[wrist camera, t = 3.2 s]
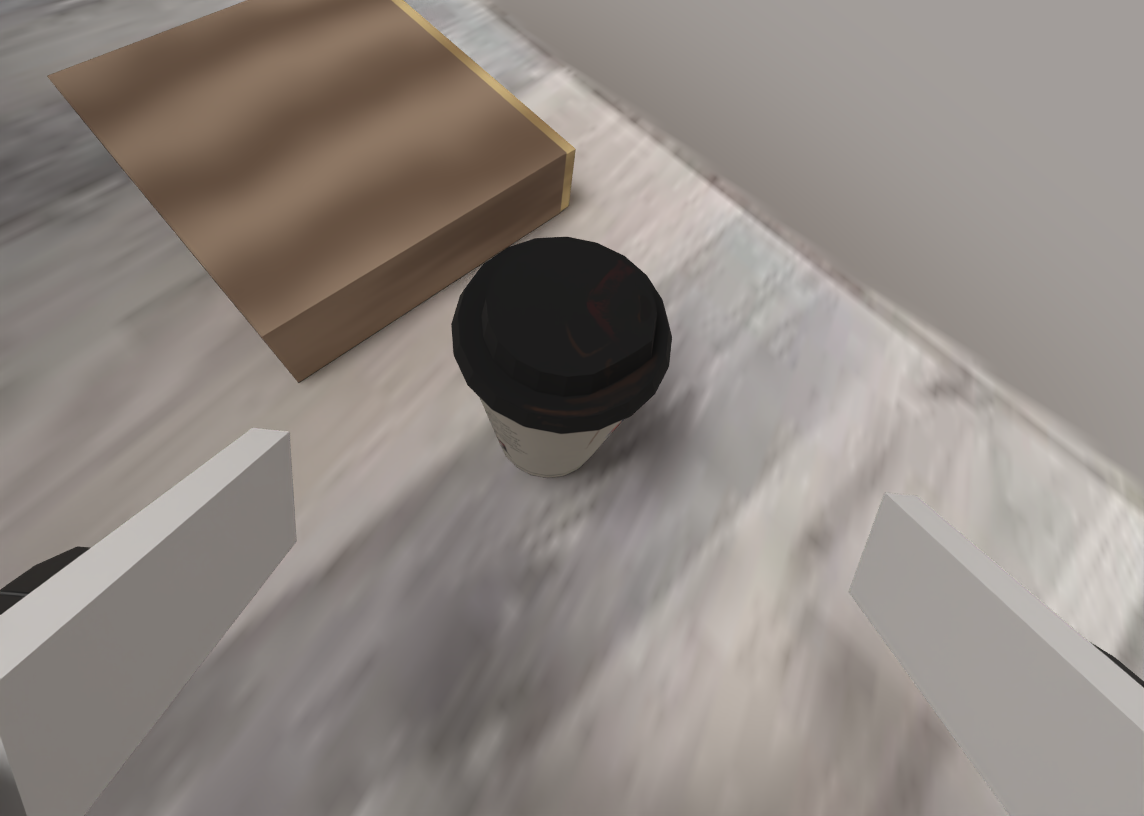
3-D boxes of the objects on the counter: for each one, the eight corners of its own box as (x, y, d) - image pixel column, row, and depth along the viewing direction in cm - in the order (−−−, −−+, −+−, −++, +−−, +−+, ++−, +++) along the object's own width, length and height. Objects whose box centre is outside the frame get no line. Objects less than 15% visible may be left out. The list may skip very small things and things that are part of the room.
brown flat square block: (105, 147, 29) (46, 75, 26) (373, 31, 35) (357, -42, 31) (298, 382, 25) (261, 336, 21) (568, 207, 31) (575, 147, 27)
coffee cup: (464, 502, 24) (432, 407, 14) (476, 357, 26) (457, 201, 17) (626, 507, 24) (694, 419, 15) (621, 365, 27) (677, 218, 18)
